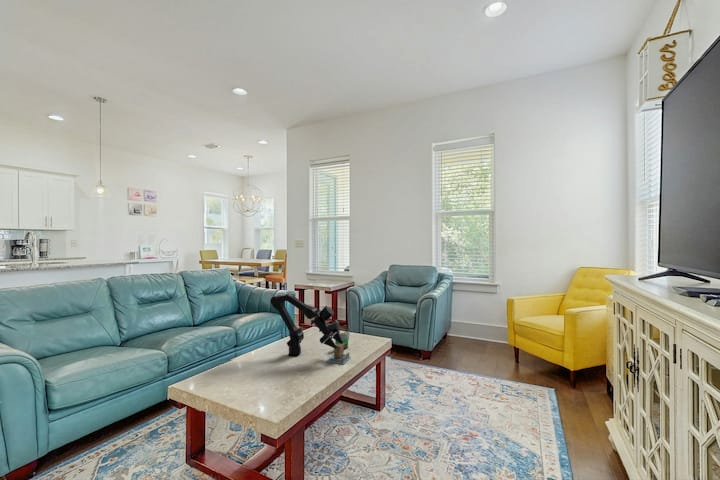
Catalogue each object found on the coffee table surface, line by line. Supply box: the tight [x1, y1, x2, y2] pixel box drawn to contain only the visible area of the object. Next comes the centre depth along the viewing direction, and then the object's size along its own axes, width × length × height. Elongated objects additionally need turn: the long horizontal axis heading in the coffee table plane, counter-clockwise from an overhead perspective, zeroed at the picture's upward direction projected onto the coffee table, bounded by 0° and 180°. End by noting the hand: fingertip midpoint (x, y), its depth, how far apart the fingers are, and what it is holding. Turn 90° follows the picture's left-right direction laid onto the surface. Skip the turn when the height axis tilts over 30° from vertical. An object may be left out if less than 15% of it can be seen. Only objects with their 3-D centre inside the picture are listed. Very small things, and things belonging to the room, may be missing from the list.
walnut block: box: [333, 343, 344, 359], centre depth 194 cm, size 4×5×8 cm
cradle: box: [326, 352, 352, 365], centre depth 194 cm, size 11×11×3 cm
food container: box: [334, 330, 351, 351], centre depth 215 cm, size 12×6×10 cm, turn 143°
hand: (339, 345), depth 194 cm, fingers open, 9 cm apart
